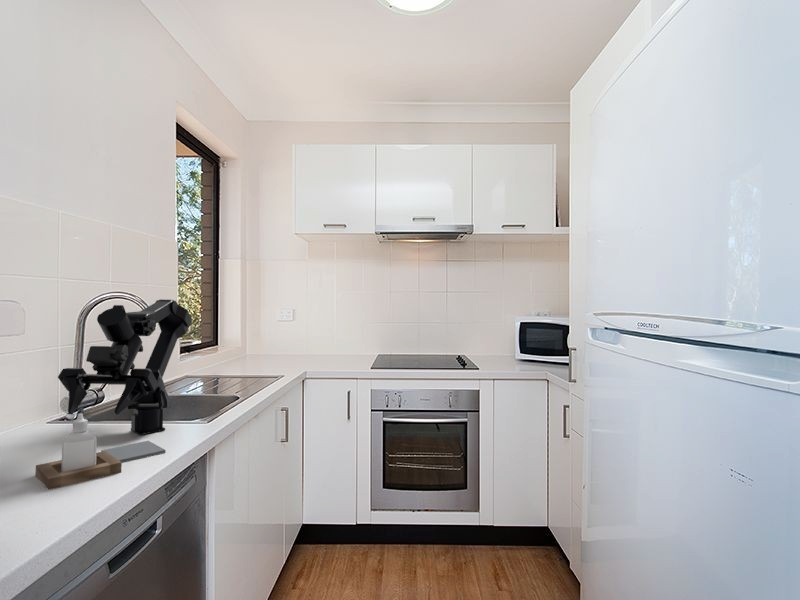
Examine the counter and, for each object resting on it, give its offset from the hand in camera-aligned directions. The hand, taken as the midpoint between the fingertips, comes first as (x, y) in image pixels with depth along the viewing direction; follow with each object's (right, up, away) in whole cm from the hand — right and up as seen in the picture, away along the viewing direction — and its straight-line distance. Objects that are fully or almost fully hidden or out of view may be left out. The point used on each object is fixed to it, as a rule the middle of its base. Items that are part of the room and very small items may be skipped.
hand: (93, 413), depth 96 cm
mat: (+4, -11, +9) cm, 15 cm away
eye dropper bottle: (0, -11, -4) cm, 12 cm away
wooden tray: (0, -11, -4) cm, 12 cm away
